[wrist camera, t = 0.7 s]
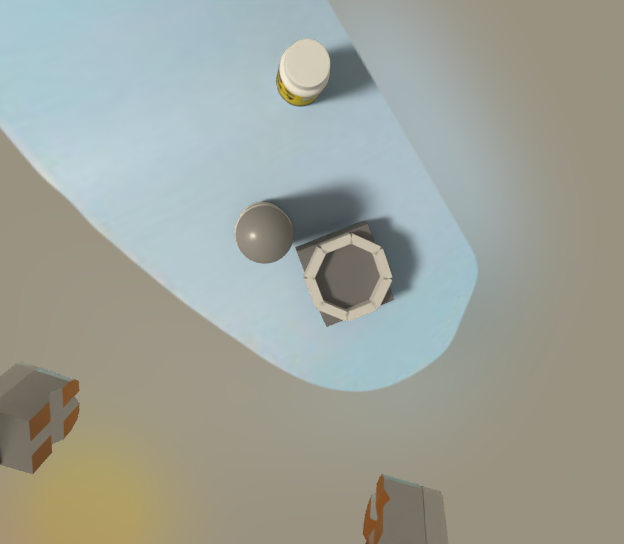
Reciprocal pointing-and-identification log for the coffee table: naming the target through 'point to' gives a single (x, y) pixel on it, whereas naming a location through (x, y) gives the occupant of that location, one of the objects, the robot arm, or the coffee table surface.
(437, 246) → the coffee table surface
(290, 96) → the supplement bottle
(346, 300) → the octagonal ring tray
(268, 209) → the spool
